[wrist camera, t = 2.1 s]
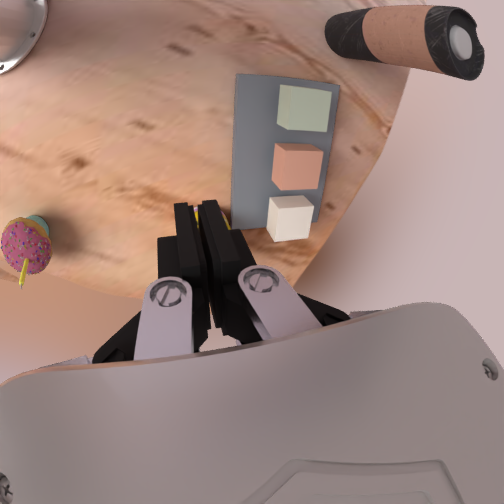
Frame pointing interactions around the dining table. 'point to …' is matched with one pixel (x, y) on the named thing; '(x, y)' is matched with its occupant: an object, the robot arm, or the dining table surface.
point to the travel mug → (410, 38)
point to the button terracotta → (296, 166)
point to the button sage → (303, 108)
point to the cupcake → (27, 245)
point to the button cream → (289, 217)
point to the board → (269, 147)
